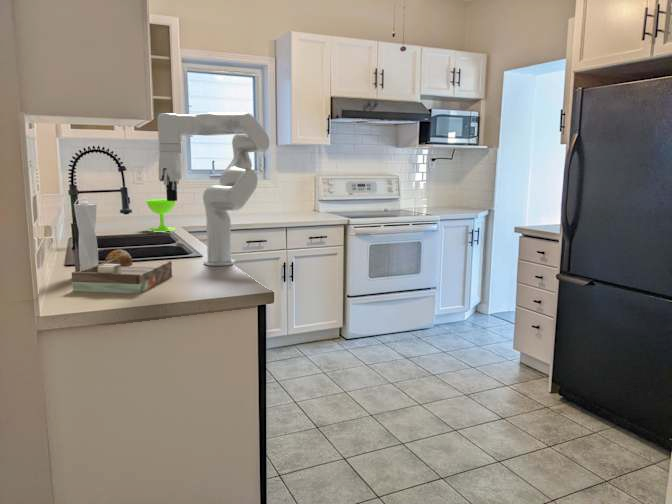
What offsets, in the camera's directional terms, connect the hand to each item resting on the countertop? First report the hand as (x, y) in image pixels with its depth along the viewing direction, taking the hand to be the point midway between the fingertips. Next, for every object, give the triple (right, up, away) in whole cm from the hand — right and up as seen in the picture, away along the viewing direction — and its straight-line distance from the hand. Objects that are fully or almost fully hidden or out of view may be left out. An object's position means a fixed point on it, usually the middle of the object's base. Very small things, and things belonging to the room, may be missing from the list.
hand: (172, 200), depth 192 cm
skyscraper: (-31, -27, +1) cm, 41 cm away
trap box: (-12, -29, -11) cm, 34 cm away
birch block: (-13, -28, -21) cm, 37 cm away
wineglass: (-44, -6, +122) cm, 130 cm away
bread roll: (-27, -24, +20) cm, 42 cm away
